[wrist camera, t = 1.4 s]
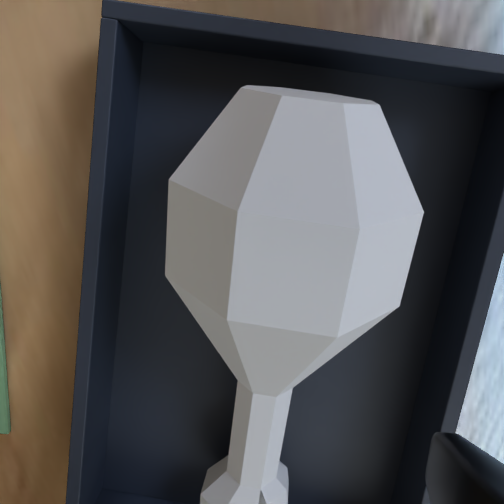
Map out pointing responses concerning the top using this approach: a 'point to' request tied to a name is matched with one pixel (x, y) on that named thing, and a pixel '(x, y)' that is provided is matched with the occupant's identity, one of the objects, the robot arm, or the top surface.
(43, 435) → the top surface
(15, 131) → the top surface
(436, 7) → the top surface
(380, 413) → the roasting tin
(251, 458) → the chicken leg
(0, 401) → the napkin
